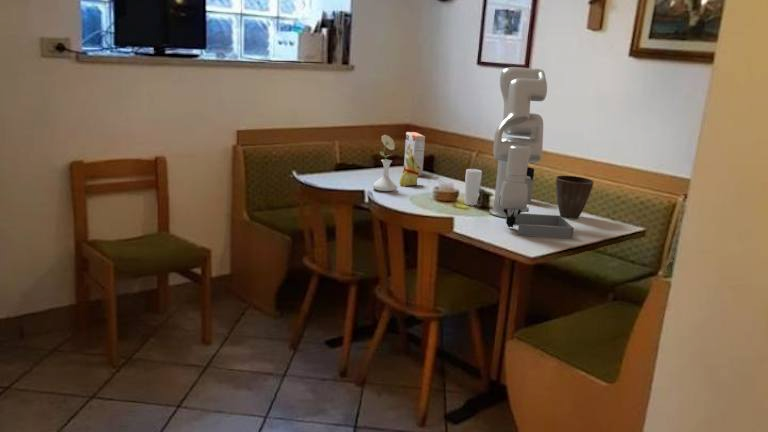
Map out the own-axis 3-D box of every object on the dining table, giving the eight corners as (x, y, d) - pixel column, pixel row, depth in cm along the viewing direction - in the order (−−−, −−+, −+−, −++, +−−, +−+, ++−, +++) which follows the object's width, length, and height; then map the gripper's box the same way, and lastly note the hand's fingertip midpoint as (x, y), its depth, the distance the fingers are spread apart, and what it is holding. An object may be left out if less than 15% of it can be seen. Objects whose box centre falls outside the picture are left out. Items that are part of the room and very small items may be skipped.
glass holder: (510, 201, 297) (514, 168, 294) (514, 195, 311) (518, 163, 307) (530, 204, 295) (534, 170, 291) (533, 197, 308) (537, 166, 304)
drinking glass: (477, 203, 289) (480, 169, 286) (479, 206, 283) (483, 172, 279) (461, 202, 289) (464, 168, 285) (463, 206, 283) (467, 171, 279)
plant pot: (573, 211, 286) (578, 175, 282) (595, 220, 272) (601, 182, 268) (544, 212, 280) (549, 175, 276) (565, 222, 267) (570, 183, 263)
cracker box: (402, 171, 352) (405, 131, 347) (413, 171, 354) (416, 131, 349) (411, 176, 339) (414, 135, 334) (422, 176, 341) (426, 135, 336)
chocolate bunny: (421, 185, 318) (424, 154, 315) (403, 187, 312) (405, 155, 309) (413, 182, 324) (415, 152, 320) (395, 184, 318) (397, 153, 314)
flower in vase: (401, 192, 299) (405, 137, 293) (377, 193, 295) (381, 137, 289) (390, 186, 311) (394, 133, 305) (367, 187, 307) (370, 133, 301)
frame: (558, 225, 261) (560, 215, 260) (572, 238, 243) (573, 228, 242) (508, 222, 260) (509, 212, 259) (518, 235, 243) (519, 224, 242)
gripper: (532, 177, 251) (527, 224, 255) (493, 175, 250) (488, 222, 254) (538, 181, 243) (532, 230, 248) (498, 179, 243) (492, 227, 247)
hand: (510, 226), depth 251 cm, fingers closed
